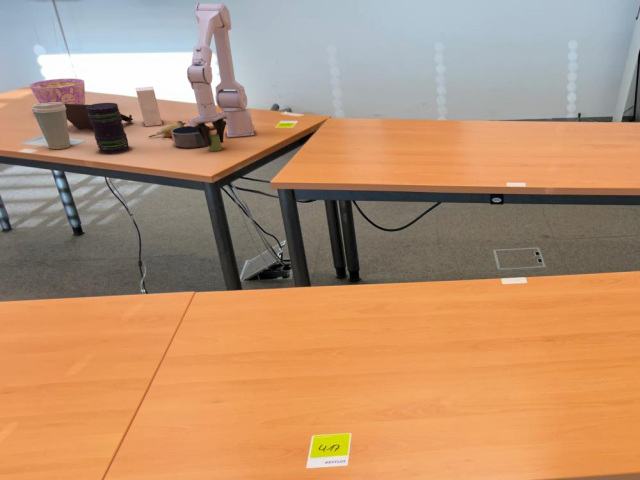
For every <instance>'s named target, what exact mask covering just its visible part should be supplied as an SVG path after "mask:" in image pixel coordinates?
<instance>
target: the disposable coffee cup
mask: <svg viewBox="0 0 640 480" xmlns="http://www.w3.org/2000/svg"><path fill="white" fill-rule="evenodd" d="M30 108H31V112H32V113H33V115H34V117H35V120H36V122H37V123H38V126H39V128H40V130H41V132H42V134H43V137H44V139H45V141H46V144H47V145H48V147H49V148H50V149H51V150H52V149H53V150H61V149H62V150H63V149H68V148H70V147H71V139H70V132H69V124H68V120H67V117H66V107H65V105H64V104H63V103H62V102H50V103H35V104H32V106H31V107H30Z"/></svg>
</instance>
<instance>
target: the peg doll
mask: <svg viewBox="0 0 640 480" xmlns="http://www.w3.org/2000/svg"><path fill="white" fill-rule="evenodd" d="M208 126H209V125H208ZM216 133H217V130H216V127H215V126H213V125H210V126H209V136H210V141H211V146H208V147H209V151H210V152H219V151H222V150H223V148H222V143H221V142H220V138H219V134H216Z"/></svg>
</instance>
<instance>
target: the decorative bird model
mask: <svg viewBox="0 0 640 480" xmlns="http://www.w3.org/2000/svg"><path fill="white" fill-rule="evenodd" d="M186 124H187V123H186V122H183V121H181V120H177V121H176V122H174V123H168V124H167V125H165V126H163V127H162V128H161V129H160V130H159V131H158V132H156V133H154V134H152V135H149V136H148V138H152V137H157V136H160V135H161V136H163V137H168V138H171V139H172V140H173V138H172V134H171V130H173V129H175V128H178V127H183V126H186Z"/></svg>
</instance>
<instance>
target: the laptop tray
mask: <svg viewBox="0 0 640 480" xmlns="http://www.w3.org/2000/svg"><path fill="white" fill-rule="evenodd" d="M64 105H65V107H66V117H67V122H69V123H70V124H71V125H72V126H73V127H75V128H76V129H77V130H79V131H80V130H93V131H94V129H93V126H92V124H91V122H90V119H89V116H88V115H89V114H88V110H87V108H86V107H87V106H89V105H90V104H64ZM120 114H121V118H122V122H126V123H132V121H133V120H134V119H133V115H132V114H129V115H125V114H123V113H120Z"/></svg>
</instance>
